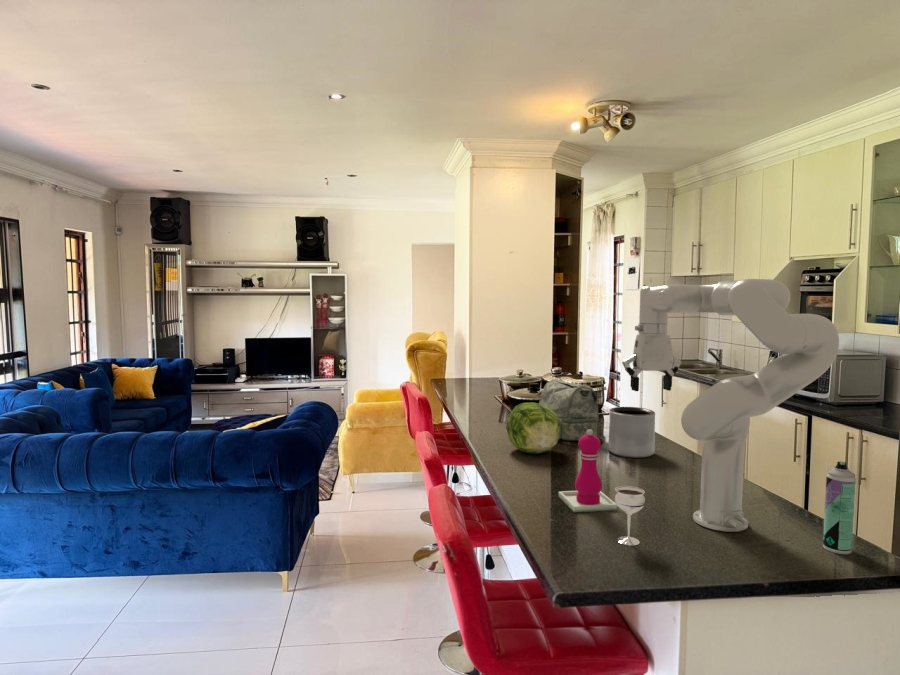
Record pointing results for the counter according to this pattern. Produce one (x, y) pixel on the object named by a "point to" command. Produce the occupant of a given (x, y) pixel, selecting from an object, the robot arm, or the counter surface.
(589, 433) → the pepper mill
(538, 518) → the counter surface
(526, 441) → the lettuce
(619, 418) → the planter
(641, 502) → the wineglass
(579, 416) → the lunch bag
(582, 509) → the tray
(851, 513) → the spray can
